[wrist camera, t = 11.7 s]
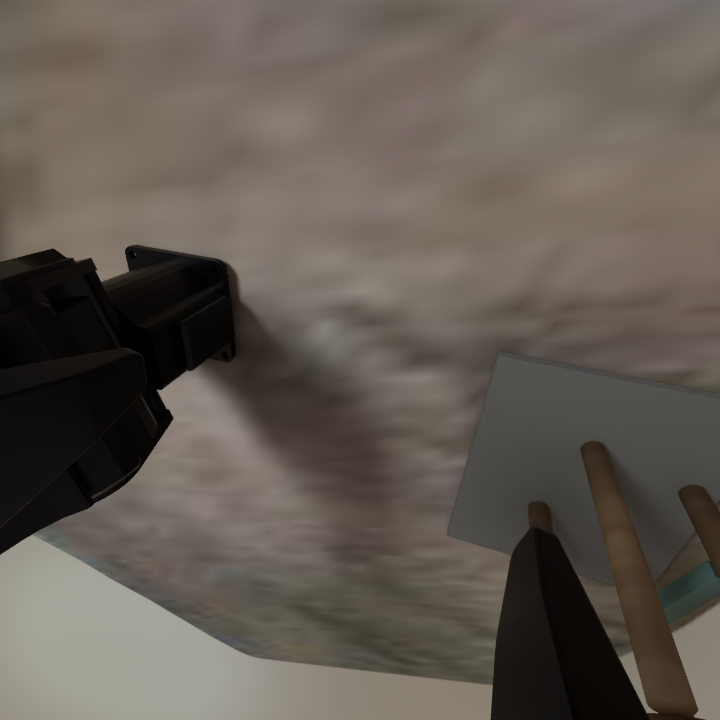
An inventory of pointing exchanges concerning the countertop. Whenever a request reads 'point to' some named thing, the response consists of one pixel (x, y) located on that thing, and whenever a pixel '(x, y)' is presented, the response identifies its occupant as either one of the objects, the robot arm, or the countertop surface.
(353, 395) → the countertop surface
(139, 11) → the countertop surface
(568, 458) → the mat
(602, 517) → the stool
